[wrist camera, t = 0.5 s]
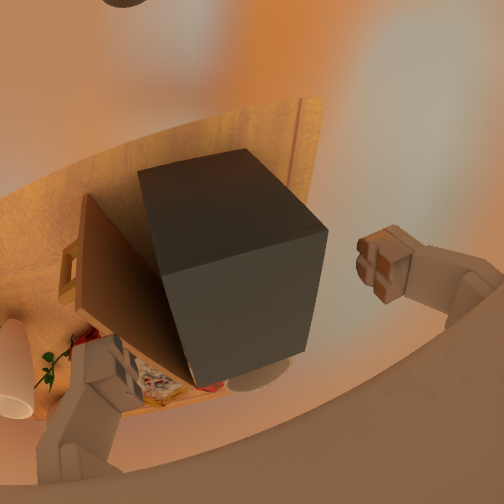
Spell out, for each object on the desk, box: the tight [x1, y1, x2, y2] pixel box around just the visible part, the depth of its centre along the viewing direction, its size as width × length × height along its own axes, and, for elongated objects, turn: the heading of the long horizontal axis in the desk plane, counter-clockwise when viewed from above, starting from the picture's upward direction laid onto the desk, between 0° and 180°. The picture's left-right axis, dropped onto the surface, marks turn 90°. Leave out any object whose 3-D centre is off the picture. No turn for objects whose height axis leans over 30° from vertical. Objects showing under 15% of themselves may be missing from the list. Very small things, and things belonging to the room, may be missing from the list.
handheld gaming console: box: [195, 381, 224, 392], centre depth 93 cm, size 9×1×15 cm
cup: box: [0, 319, 34, 419], centre depth 43 cm, size 10×10×22 cm
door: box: [58, 194, 196, 390], centre depth 44 cm, size 7×24×24 cm, turn 21°
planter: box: [223, 356, 292, 393], centre depth 75 cm, size 17×17×15 cm
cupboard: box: [138, 149, 328, 388], centre depth 48 cm, size 18×24×24 cm
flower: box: [34, 328, 101, 392], centre depth 59 cm, size 9×9×30 cm
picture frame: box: [131, 353, 197, 408], centre depth 79 cm, size 27×2×30 cm
